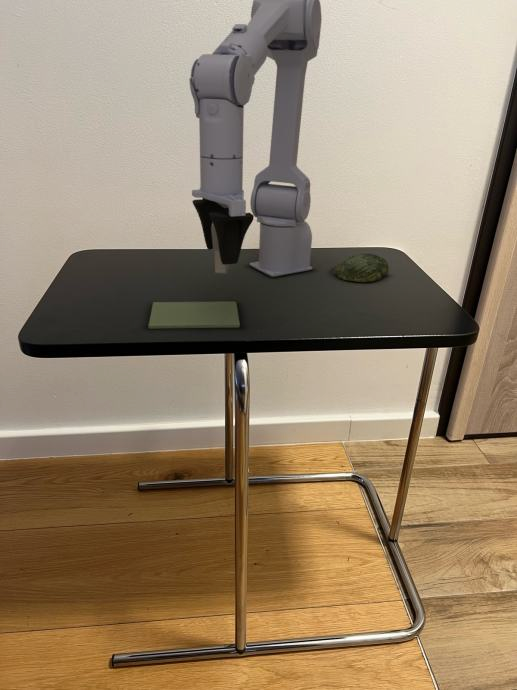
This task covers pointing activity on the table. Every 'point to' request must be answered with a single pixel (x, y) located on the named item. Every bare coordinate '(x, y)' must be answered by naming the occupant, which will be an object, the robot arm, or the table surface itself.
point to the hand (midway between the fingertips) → (221, 255)
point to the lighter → (218, 264)
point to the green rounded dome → (362, 268)
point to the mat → (194, 315)
